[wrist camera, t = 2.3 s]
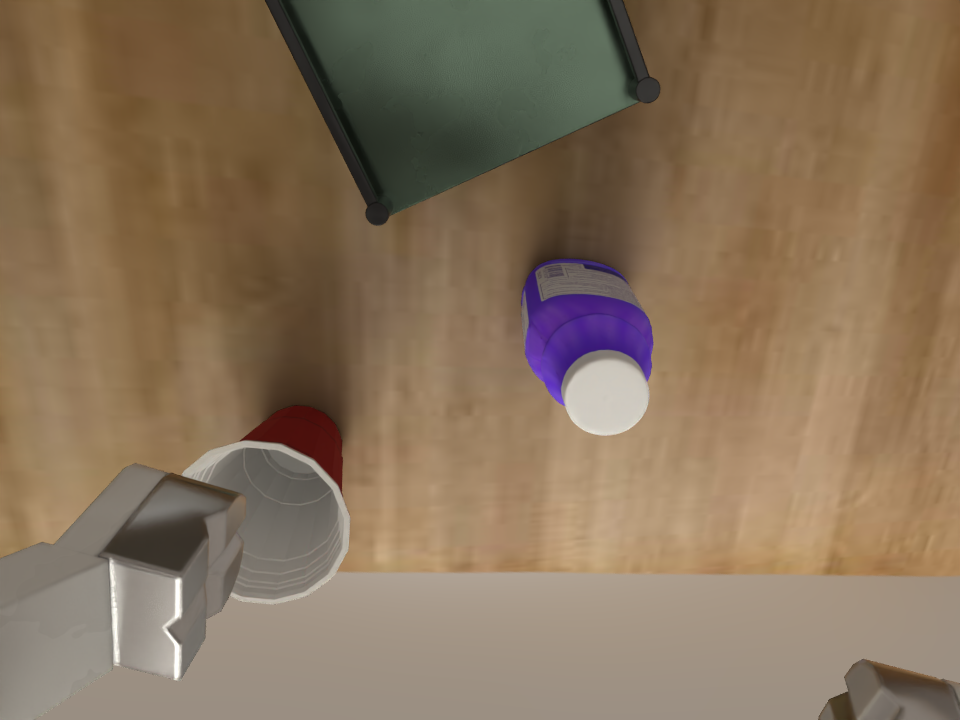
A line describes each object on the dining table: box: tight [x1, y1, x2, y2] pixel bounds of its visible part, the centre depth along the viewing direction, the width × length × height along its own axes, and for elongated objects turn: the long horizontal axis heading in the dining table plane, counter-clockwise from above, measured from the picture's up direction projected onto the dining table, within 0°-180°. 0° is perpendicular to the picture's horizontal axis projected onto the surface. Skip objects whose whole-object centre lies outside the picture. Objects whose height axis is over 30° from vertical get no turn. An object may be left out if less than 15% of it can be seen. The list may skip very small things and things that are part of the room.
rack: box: [265, 0, 660, 226], centre depth 42 cm, size 16×14×11 cm
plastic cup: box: [182, 405, 350, 604], centre depth 52 cm, size 11×11×12 cm
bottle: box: [521, 259, 653, 436], centre depth 45 cm, size 7×6×17 cm
